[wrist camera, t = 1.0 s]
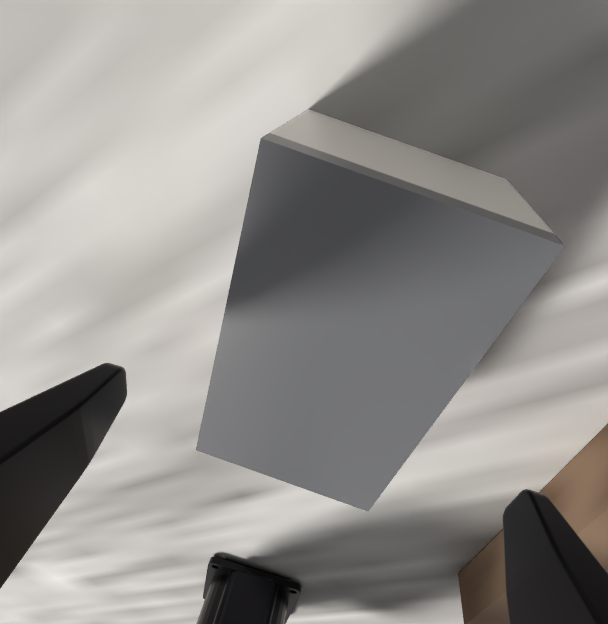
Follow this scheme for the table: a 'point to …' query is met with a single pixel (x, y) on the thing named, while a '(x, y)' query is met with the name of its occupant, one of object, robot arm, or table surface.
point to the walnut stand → (577, 512)
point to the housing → (360, 303)
